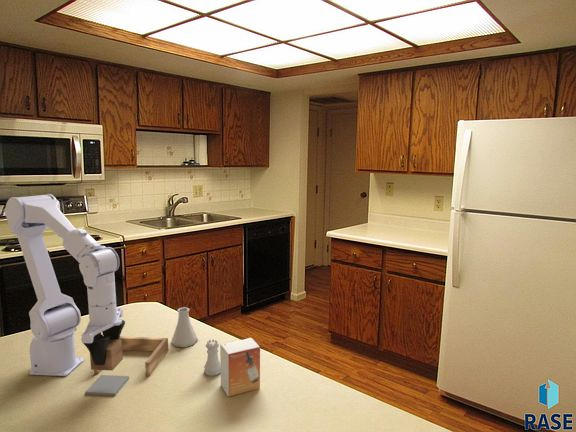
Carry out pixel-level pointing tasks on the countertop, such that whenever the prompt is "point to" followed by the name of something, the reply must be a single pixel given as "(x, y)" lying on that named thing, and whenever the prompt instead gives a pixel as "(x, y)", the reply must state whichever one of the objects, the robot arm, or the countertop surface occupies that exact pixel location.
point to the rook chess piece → (212, 359)
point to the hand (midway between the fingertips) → (106, 358)
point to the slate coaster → (107, 385)
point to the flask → (184, 330)
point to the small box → (240, 366)
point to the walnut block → (110, 356)
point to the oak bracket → (146, 345)
